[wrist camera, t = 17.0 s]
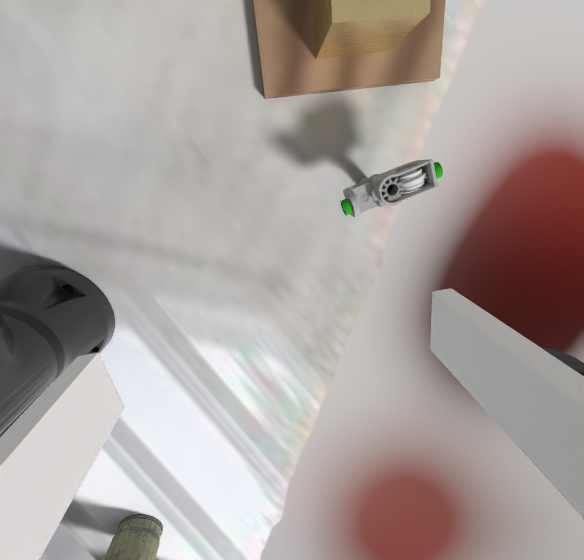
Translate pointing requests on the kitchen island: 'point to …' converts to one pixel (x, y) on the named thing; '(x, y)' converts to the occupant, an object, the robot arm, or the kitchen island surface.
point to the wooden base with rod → (339, 70)
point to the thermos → (136, 539)
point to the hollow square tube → (363, 25)
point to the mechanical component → (391, 186)
